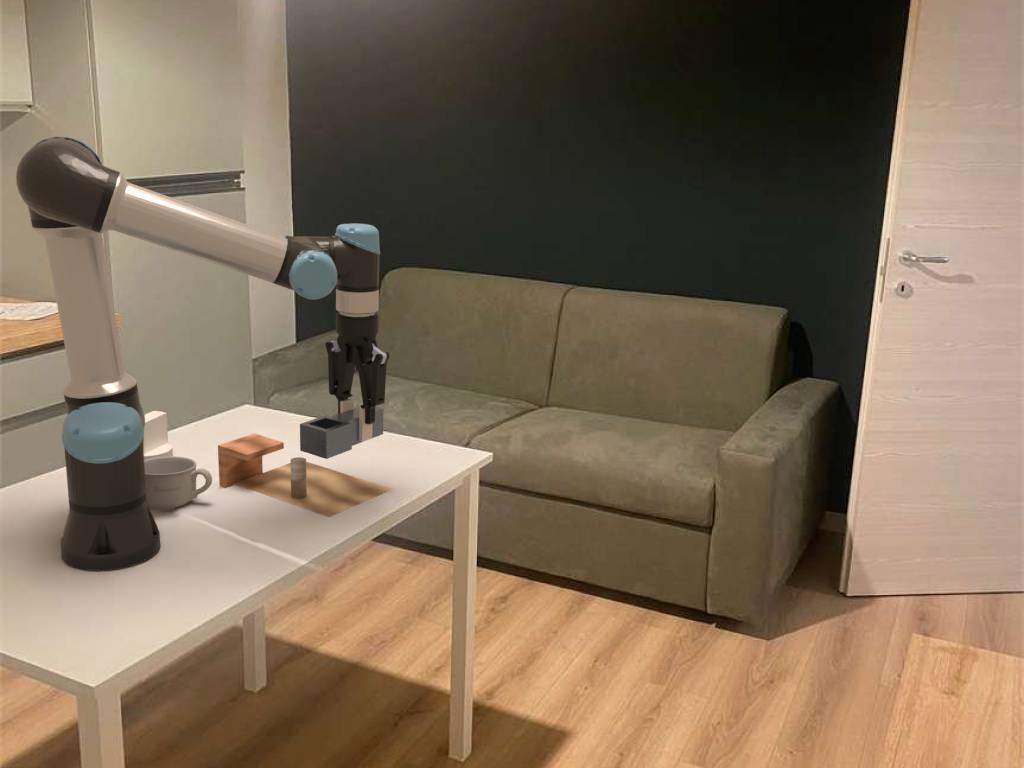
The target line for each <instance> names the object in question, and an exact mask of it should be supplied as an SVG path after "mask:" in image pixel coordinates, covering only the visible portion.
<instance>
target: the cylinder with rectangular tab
mask: <svg viewBox="0 0 1024 768" xmlns="http://www.w3.org/2000/svg"><path fill="white" fill-rule="evenodd" d="M167 415H168V414H167V412H165V411H160V410H159V411H158V410H152V411H150V412H147V413H144V416H145V426H144V460H146V459H151V458H156V457H169V456H174V454H173V453H174V451H173V448H174V447H173V444H171V442H169V434H168V416H167Z"/></svg>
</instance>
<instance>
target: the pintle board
mask: <svg viewBox="0 0 1024 768" xmlns="http://www.w3.org/2000/svg"><path fill="white" fill-rule="evenodd" d="M284 444H285V443H284V441H281V440H280V441H279V440H278V439H273V438H271V437H268V436H263V435H260V434H258V433H252V434H249V435H245V436H242V437H239V438H236V439H233V440H230V441H227V442H223V443H220V444H218V445H217V455H218V456H217V457H218V479H219V480H218V481H219V487H221V488H224V489H228V488H231V487H232V486H239V487H242V488H245V489H248V490H251V491H254V492H256V493H259V494H262V495H265V496H268V497H271V498H273V499H277V500H280V501H282V502H285V503H288V504H290V505H294V506H296V507H299V508H302V509H305V510H308V511H311V512H314V513H316V514H319V515H321V516H324V517H327V518H330V517H331V518H332V517H333V516H336V515H337V514H340V513H342V512H344V511H347V510H349V509H351V508H354V507H356V506H358V505H360V504H362V503H365V502H367V501H369V500H371V499H374V498H377V497H379V496H381V495H383V494H386V493H388V492H390V491H393V488H391V487H387V486H385V485H381V484H377V483H374V482H373V481H372V482H371V481H368V480H365V479H362V478H359V477H356V476H353V475H349V474H347V473H344V472H340V471H338V470H334V469H331V468H328V467H324V466H322V465H318V464H315V463H312V462H309V461H307V459H306V458H305V457H302V456H301V457H300V456H299V457H293V458H291V459H290V463H286V464H284V465H281V466H278V467H276V468H273V469H270V470H267V471H265V472H264V471H263V469H264V467H263V466H264V465H263V456H265V455H269V454H272V453H275V452H277V451H281V450H283V449H284V448H285V447H284Z"/></svg>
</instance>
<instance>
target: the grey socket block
mask: <svg viewBox="0 0 1024 768" xmlns="http://www.w3.org/2000/svg"><path fill="white" fill-rule="evenodd" d="M360 407H361V406H358V407H355V408H353V409H352V410H349V411H346V412H343V413H340V414H338V413H336V414H334V415H331V416H330V415H323V416H320V417H317V418H313V419H309V420H308V421H305V422H301V423H300V424H299V446H300V447H299V451H301V452H304V453H307V454H308V455H309V454H310V455H314V456H316V457H319V458H323V459H326V460H328V459H330V458H334V457H336V456H338V455H341V454H344V453H347V452H348V451H351V450H352V449H353V446H355V445H359V444H360V443H362V442H361V441H359V409H360ZM381 435H384V408H383V407H379V406H376V407H375V422H374V423H372V439H374V438H377V437H379V436H381Z"/></svg>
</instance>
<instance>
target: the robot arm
mask: <svg viewBox="0 0 1024 768" xmlns="http://www.w3.org/2000/svg"><path fill="white" fill-rule="evenodd" d="M15 180H16V182H15V183H16V186H17V190H18V193H19V195H20V197H21V199H22V200H23V202H24V203H25V204H26V205H27V208H28V213H29V218H30V221H31V222H30V223H31V228H32V230H33V231H35V232H36V233H38V234H40V235H41V236H42V237H43V238H44V241H45V247H46V252H47V258H48V263H49V269H50V273H51V279H52V284H53V290H54V295H55V301H56V306H57V311H58V316H59V322H60V328H61V333H62V338H63V343H64V349H65V355H66V360H67V366H68V370H69V371H68V372H69V376H70V380H69V382H68V383H67V385H66V386H65V387H64V388H63V391H62V393H63V396H64V397H63V398H64V402H65V403H64V404H65V408H66V413H67V416H66V417H65V418H64V421H63V425H62V432H61V441H62V444H63V447H64V459H65V470H66V472H65V473H66V482H67V483H66V485H67V497H68V514H67V517H66V518H67V519H66V522H65V526H64V530H63V534H62V537H61V540H60V555H61V559H62V561H63V562H64V563H65V564H67V565H68V566H71V567H72V568H76V569H80V570H86V571H87V570H88V571H109V570H110V571H111V570H118V569H119V570H120V569H122V568H123V569H124V568H128V567H132V566H135V565H137V564H141V563H143V562H145V561H147V560H149V559H151V558H152V557H154V556H156V554H158V552H159V551H160V548H161V546H162V545H161V544H162V543H161V533H160V529H159V527H158V525H157V523H156V521H155V519H154V516H153V513H152V510H151V509H149V507H148V504H147V500H146V483H145V467H144V426H145V416H144V415H145V411H144V409H143V407H142V404H141V401H140V395H139V389H138V388H139V387H138V383H137V382H138V381H137V379H136V378H135V377H134V376H132V375H131V374H129V373H128V372H126V370H125V361H124V357H123V351H122V345H121V339H120V333H119V327H118V322H117V321H118V320H117V315H116V314H117V313H116V310H115V303H114V297H113V292H112V286H111V280H110V275H109V274H110V273H109V267H108V263H107V262H108V261H107V256H106V251H105V244H104V239H103V234H105V233H107V232H109V231H114V232H117V233H120V234H123V235H126V236H130V237H131V238H136V239H139V240H142V241H145V242H148V243H150V244H153V245H157V246H159V247H162V248H166V249H168V250H172V251H175V252H178V253H181V254H184V255H187V256H190V257H193V258H197V259H199V260H203V261H204V262H207V263H212V264H215V265H217V266H220V267H223V268H227V269H230V270H232V271H235V272H238V273H242V274H244V275H248V276H251V277H253V278H256V279H258V280H259V279H260V280H263V281H266V282H269V283H272V284H274V285H276V286H280V287H283V288H286V289H288V290H291V291H293V292H295V293H296V294H297V295H299V296H300V297H303V298H305V299H307V300H320V299H322V298H325V297H327V296H328V295H330V294H331V293H332V292H333V290H334V289H335V310H336V311H338V312H337V313H336V314H335V332H336V333H337V335H338V336H337V338H336V339H335V340H334V339H333V340H332V341H327V342H326V343H325V349H326V352H327V361H328V362H327V364H328V365H327V366H328V367H327V369H328V371H327V372H328V393H329V395H331V396H334V397H336V400H337V414H340V413H343V412H346V411H349V410H352V409H354V398H352V397H353V396H354V394H352V393H351V392H352V387H353V381H354V375H355V369H356V371H358V379H359V386H360V392H361V393H360V394H361V400H362V404H361V405H360V406H359V407H360V409H359V441H361V443H364V442H366V441H368V440H371V439H373V438H372V423H374V422H375V407H378V406H379V405H383V404H385V401H386V400H385V399H386V381H387V380H386V379H387V364H388V361H389V358H390V353H389V352H388V351H384V352H383V351H382V350H380V349H379V348H378V347H379V346H378V342H377V340H376V337H377V335H378V333H379V316H380V315H379V314H378V313H377V312H378V311H379V304H380V303H379V300H380V299H379V298H380V297H379V294H380V293H379V292H380V289H379V288H380V287H379V286H380V255H381V251H380V249H381V248H380V247H381V246H380V232H379V230H378V228H377V227H375V226H374V225H372V224H367V223H342V224H339V225H337V227H336V229H335V233H334V235H330V236H307V235H306V236H305V235H303V236H301V235H299V236H296V235H295V236H294V235H293V236H292V235H288V234H287V235H282V236H281V235H277V234H276V233H273V232H270V231H266V230H264V229H261V228H258V227H256V226H253V225H249V224H247V223H244V222H242V221H238V220H235V219H232V218H229V217H227V216H225V215H221V214H218V213H216V212H212V211H210V210H207V209H206V208H205V209H204V208H202V207H198V206H196V205H193V204H191V203H188V202H184V201H182V200H179V199H176V198H173V197H171V196H167V195H164V194H162V193H159V192H158V191H157V192H156V191H154V190H151V189H148V188H146V187H142V186H139V185H136V184H133V183H131V182H129V181H128V180H127V179H126V178H125V176H124V174H123V173H122V172H120V171H118V170H115V169H113V168H109V167H107V166H105V165H103V163H102V162H101V159H100V157H99V156H98V154H97V153H96V152H95V151H94V149H92V148H91V147H90V146H89V145H87V144H86V143H84V142H83V141H81V140H78V139H75V138H73V137H68V136H53V137H47V138H44V139H42V140H39V141H38V142H37V143H36V144H34V145H33V146H32V147H31V148H30V149H29V150H28V151H27V152H26V153H24V154H23V156H22V157H21V158H20V161H19V162H18V165H17V167H16V173H15Z"/></svg>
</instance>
